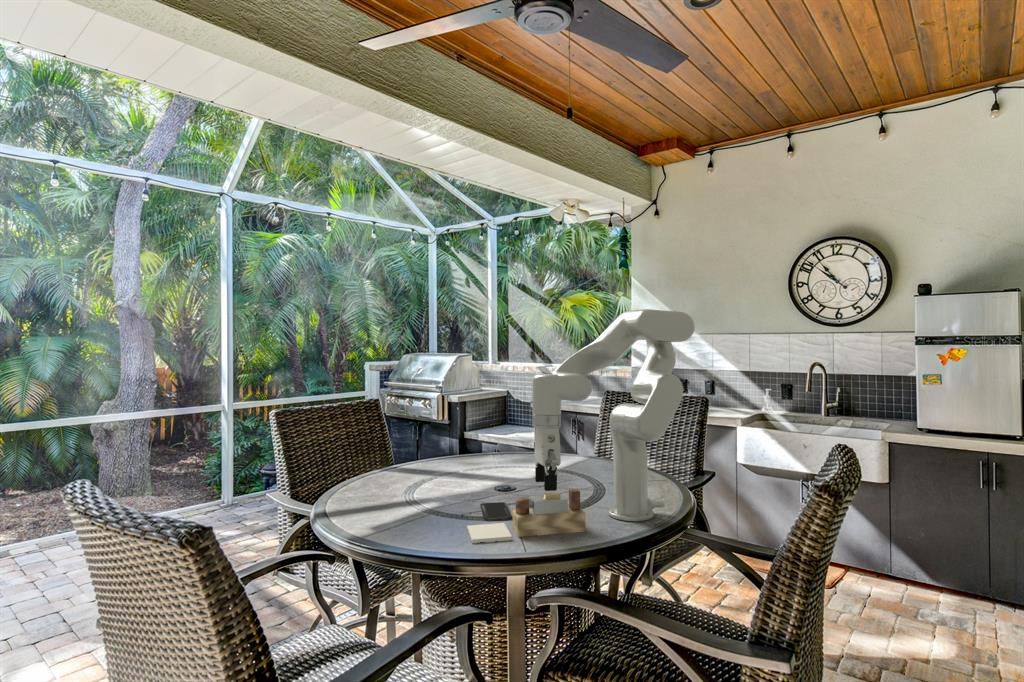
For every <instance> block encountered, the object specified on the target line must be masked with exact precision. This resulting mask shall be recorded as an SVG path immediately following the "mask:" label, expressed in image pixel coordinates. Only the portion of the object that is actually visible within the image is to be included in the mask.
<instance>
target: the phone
mask: <svg viewBox="0 0 1024 682" xmlns="http://www.w3.org/2000/svg"><path fill="white" fill-rule="evenodd" d="M479 506H480V510H482V511H481V514H482V517H483V520H484V521H486V520H493V521H504V520H503V519H509V520H511V518H512V519H513V514H511V511H510V509H509V506H508V504H507V503H506V502H505V501H504V502H503V501H499V502H497V501H496V502H482V503H480V505H479Z"/></svg>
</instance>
